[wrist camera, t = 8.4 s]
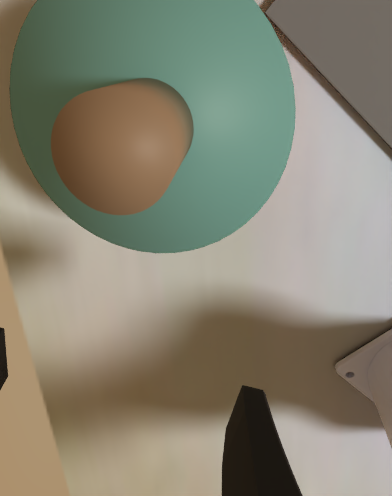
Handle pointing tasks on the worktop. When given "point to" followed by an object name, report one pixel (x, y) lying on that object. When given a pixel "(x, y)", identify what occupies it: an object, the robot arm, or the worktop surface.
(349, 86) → the mat
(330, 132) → the worktop surface
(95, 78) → the lid
